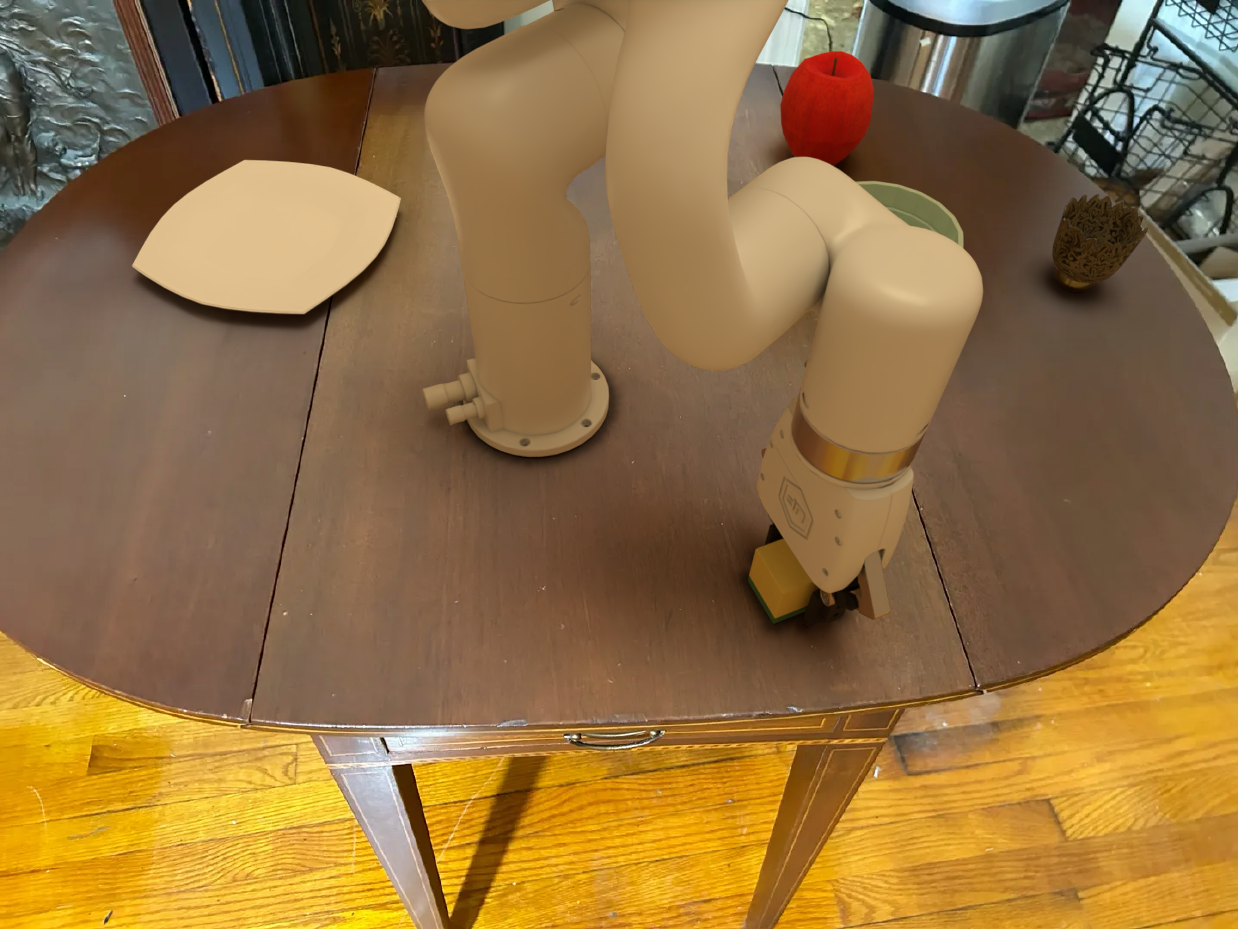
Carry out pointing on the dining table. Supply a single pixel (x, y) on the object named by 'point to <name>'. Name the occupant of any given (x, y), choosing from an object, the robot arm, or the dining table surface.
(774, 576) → the sponge
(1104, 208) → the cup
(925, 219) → the bowl
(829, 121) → the apple
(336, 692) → the dining table surface
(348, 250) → the plate
